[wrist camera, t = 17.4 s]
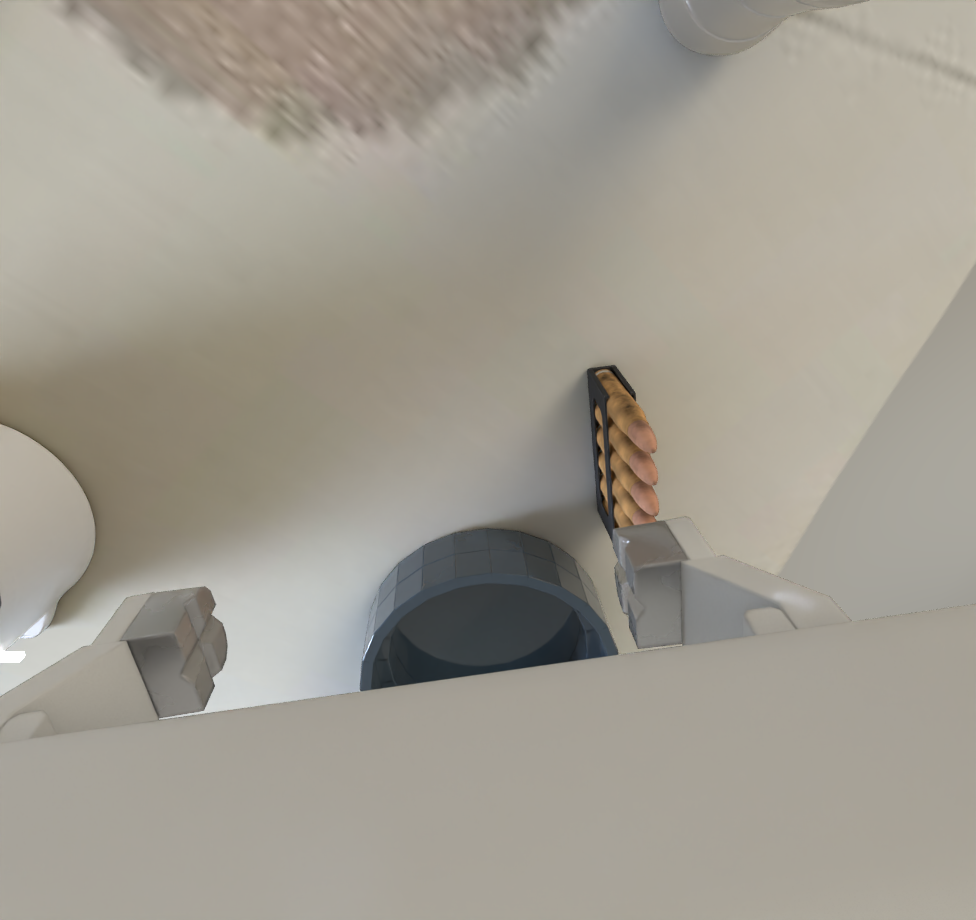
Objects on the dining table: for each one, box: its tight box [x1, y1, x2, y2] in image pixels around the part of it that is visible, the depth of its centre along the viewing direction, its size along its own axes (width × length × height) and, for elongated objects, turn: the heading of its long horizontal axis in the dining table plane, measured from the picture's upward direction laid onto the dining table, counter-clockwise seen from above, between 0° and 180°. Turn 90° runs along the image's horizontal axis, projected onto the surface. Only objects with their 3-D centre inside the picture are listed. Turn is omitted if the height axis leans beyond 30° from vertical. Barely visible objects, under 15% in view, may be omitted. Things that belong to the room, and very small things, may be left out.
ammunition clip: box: [587, 365, 659, 543], centre depth 41 cm, size 11×2×12 cm, turn 8°
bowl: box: [360, 528, 619, 691], centre depth 50 cm, size 18×18×6 cm
